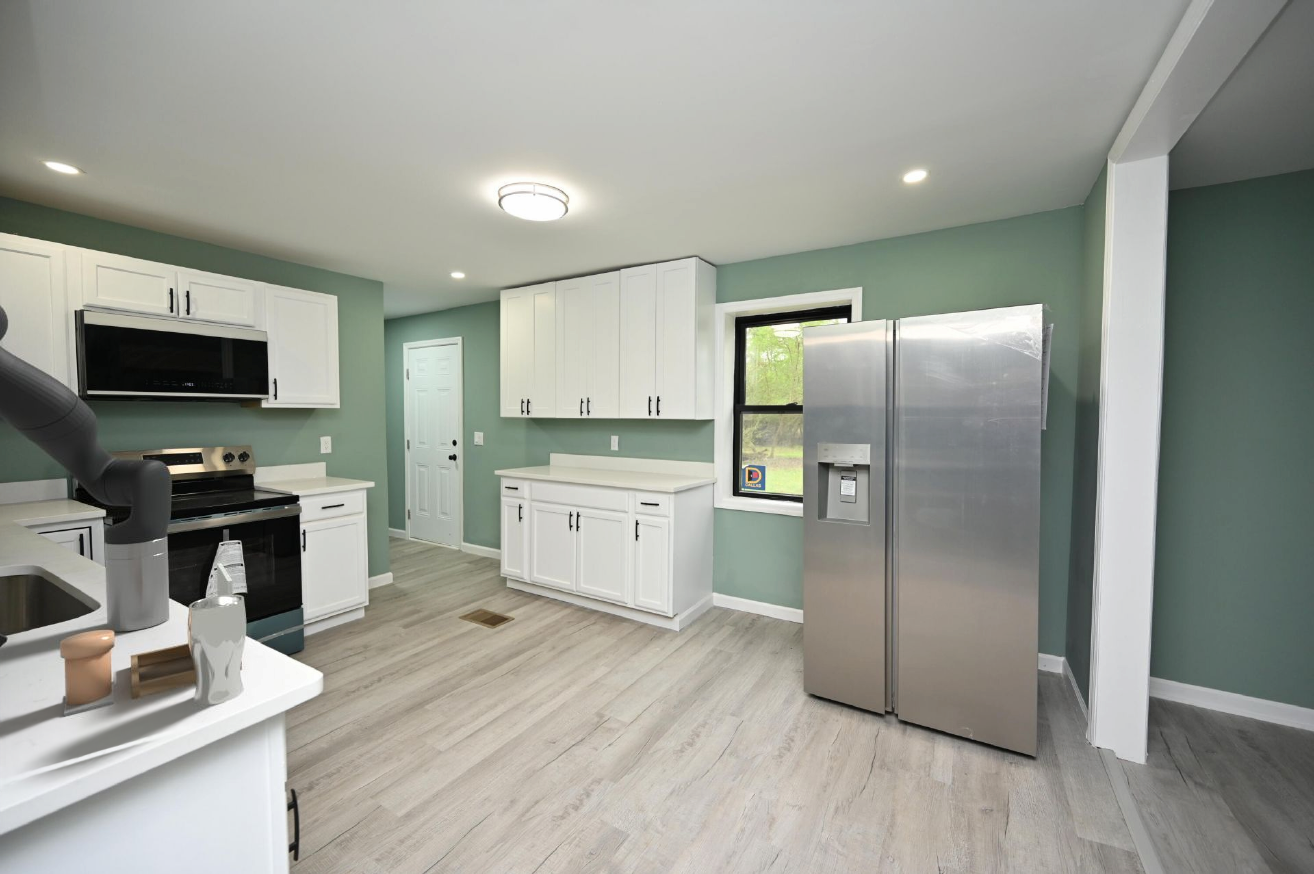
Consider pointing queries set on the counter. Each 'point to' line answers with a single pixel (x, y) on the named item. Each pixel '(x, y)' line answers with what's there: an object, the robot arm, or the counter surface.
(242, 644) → the beer glass
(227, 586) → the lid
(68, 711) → the tile
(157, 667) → the open wooden box
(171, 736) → the counter surface
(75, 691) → the peach mushroom shaped stopper
